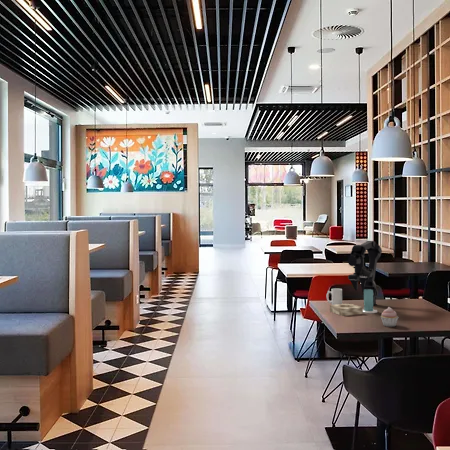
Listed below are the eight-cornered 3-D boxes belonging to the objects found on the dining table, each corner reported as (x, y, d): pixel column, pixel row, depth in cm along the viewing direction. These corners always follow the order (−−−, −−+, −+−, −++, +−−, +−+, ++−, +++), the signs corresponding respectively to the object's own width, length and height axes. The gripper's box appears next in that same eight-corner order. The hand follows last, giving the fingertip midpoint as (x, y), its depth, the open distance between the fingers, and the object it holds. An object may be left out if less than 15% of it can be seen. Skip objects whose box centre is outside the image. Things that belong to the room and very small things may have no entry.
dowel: (367, 309, 300) (366, 289, 300) (375, 310, 296) (374, 289, 296) (362, 310, 297) (362, 290, 296) (370, 311, 293) (369, 290, 292)
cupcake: (386, 323, 265) (385, 304, 265) (402, 325, 258) (401, 306, 258) (376, 325, 259) (376, 306, 259) (392, 328, 252) (392, 309, 252)
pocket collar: (349, 309, 304) (349, 303, 304) (362, 313, 290) (362, 307, 290) (329, 311, 299) (329, 305, 299) (342, 315, 286) (341, 309, 286)
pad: (370, 309, 303) (370, 308, 303) (380, 312, 293) (380, 311, 293) (357, 310, 300) (357, 309, 300) (366, 313, 290) (366, 312, 290)
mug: (342, 307, 313) (342, 288, 313) (342, 308, 307) (341, 289, 307) (326, 306, 316) (326, 288, 316) (326, 308, 310) (325, 289, 310)
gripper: (364, 266, 294) (364, 292, 295) (377, 264, 308) (378, 288, 308) (347, 265, 302) (347, 291, 302) (361, 263, 316) (361, 287, 316)
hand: (359, 289), depth 307 cm, fingers open, 9 cm apart
